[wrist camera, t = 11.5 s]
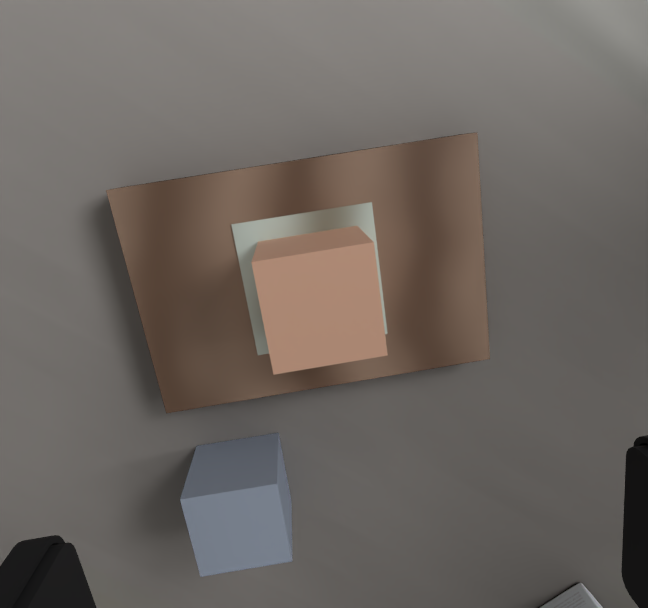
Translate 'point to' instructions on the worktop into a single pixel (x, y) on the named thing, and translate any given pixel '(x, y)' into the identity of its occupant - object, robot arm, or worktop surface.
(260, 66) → the worktop surface
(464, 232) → the board
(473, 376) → the worktop surface
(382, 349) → the terracotta block
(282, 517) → the slate block
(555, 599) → the supplement box
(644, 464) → the robot arm
